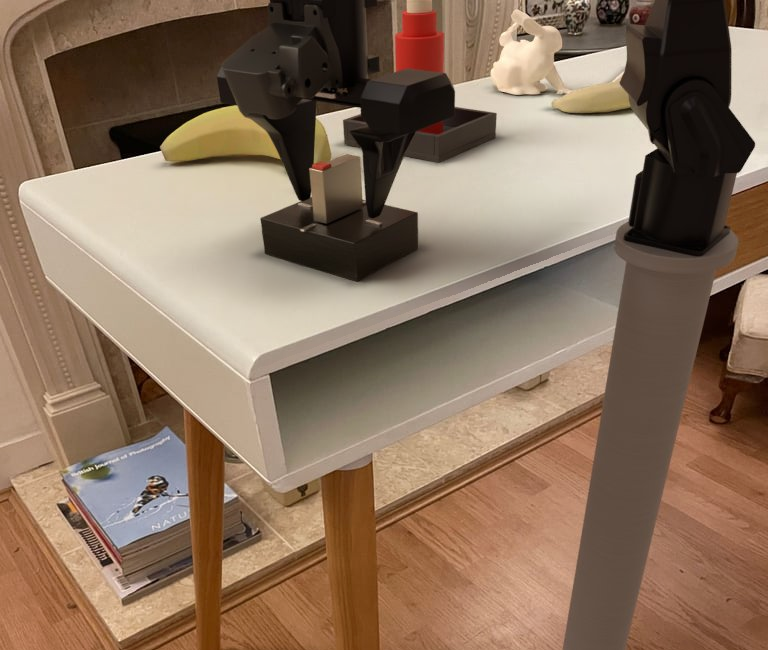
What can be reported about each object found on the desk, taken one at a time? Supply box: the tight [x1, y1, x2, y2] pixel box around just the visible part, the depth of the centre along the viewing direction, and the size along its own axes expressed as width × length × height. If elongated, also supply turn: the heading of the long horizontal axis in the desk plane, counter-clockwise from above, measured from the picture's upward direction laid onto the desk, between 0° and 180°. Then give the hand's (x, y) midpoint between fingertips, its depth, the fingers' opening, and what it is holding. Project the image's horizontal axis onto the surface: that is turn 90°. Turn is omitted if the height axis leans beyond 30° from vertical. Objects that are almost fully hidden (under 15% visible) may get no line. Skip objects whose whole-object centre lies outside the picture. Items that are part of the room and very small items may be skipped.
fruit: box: [550, 81, 631, 114], centre depth 99 cm, size 7×15×3 cm, turn 117°
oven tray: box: [342, 106, 498, 163], centre depth 90 cm, size 13×11×3 cm
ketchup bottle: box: [394, 0, 445, 135], centre depth 86 cm, size 5×5×14 cm
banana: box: [159, 105, 332, 164], centre depth 83 cm, size 14×6×20 cm
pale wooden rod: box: [611, 70, 625, 82], centre depth 110 cm, size 1×19×1 cm, turn 153°
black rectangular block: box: [259, 196, 419, 282], centre depth 65 cm, size 10×9×3 cm
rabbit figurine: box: [490, 9, 574, 96], centre depth 104 cm, size 12×8×10 cm, turn 46°
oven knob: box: [309, 153, 364, 224], centre depth 63 cm, size 4×1×4 cm, turn 142°
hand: (338, 208), depth 64 cm, fingers open, 7 cm apart
